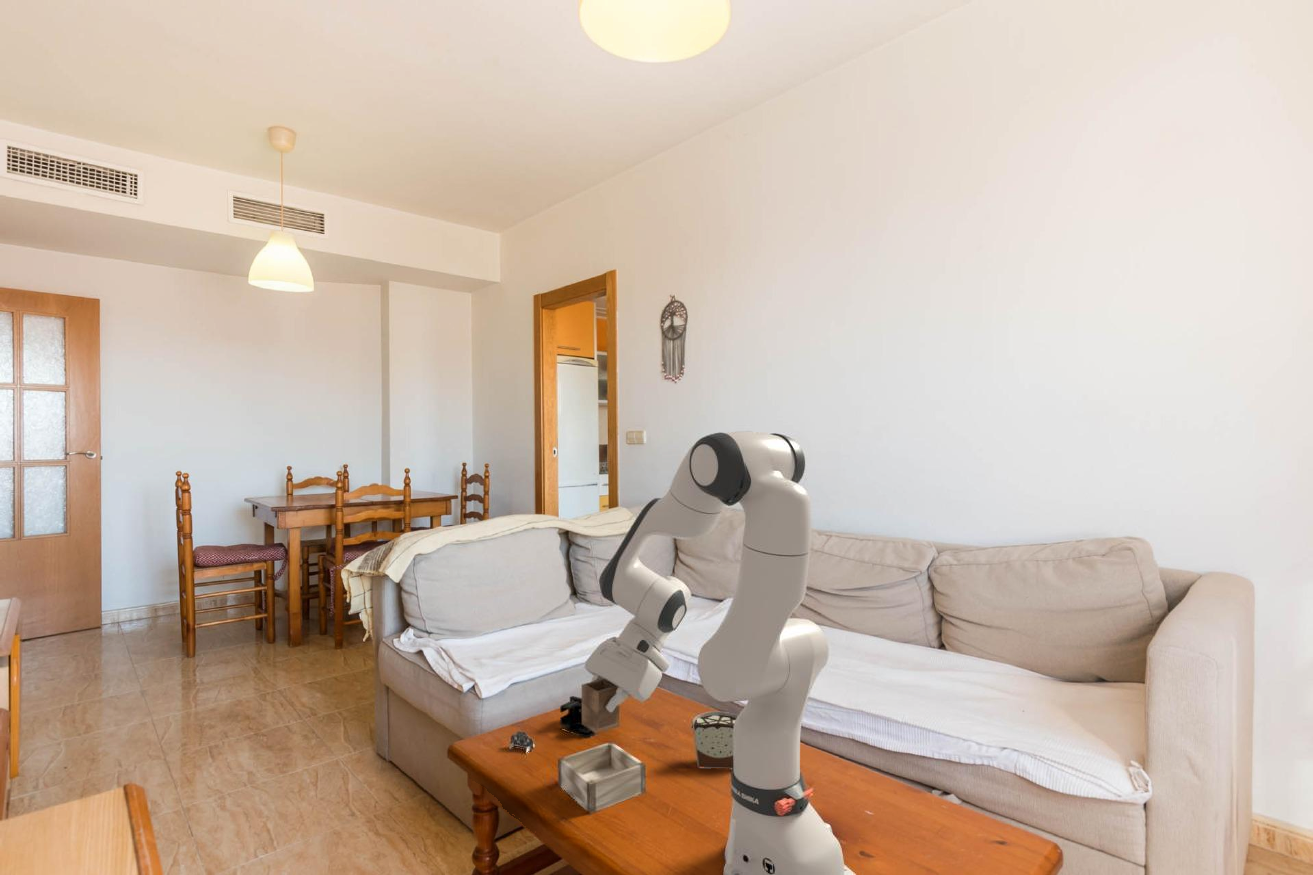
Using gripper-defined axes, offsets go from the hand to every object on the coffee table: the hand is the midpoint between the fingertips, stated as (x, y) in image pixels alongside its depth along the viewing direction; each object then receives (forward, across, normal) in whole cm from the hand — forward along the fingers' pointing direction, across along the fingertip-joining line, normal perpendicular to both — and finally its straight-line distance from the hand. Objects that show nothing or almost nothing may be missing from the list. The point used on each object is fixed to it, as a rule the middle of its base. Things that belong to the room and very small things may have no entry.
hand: (597, 704), depth 134 cm
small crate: (+3, 0, +4) cm, 4 cm away
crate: (+12, 0, +13) cm, 17 cm away
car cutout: (+15, -22, +11) cm, 29 cm away
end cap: (+4, -27, +21) cm, 34 cm away
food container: (-7, +6, +32) cm, 33 cm away
